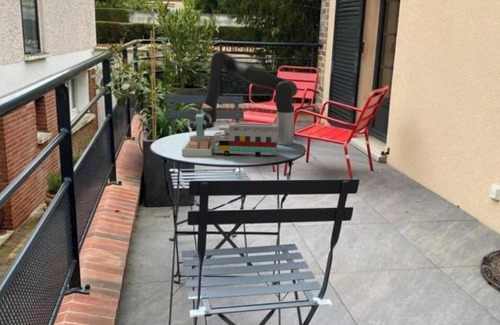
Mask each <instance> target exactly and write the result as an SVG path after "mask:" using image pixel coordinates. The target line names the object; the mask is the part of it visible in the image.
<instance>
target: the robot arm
mask: <svg viewBox="0 0 500 325" xmlns="http://www.w3.org/2000/svg"><path fill="white" fill-rule="evenodd" d="M210 60H211V61H210V68H209V69H210V70H209V80H208V85H207V86H208V87H207V89H206V94H205V98H204V105H207V106H209V107H211V110H210V109H207V108H201V109H199V110H198V113H197V114H204V124H203V126H202V127H203V130H204V131H206V130H207V129H208V130H209V129H212V128H215V127H216V126H215V123H216V121H217V119H218V117H217V116H218V114H217V113H218V112H217V111H218V110H217V105H218V102H219V97H220V91H221V88H220V87H221V85H220V84H221V83H220V82H221V81H220V79H221V74H222V71H223V72H226V73H229V74H234V75H235V76H237V77H239V79H240V80H241V79H242V80H243V81H245V82H247V83H249V84H251V85H254V86H257V87H262V88H266V89H270V90H273V91H275V95H274V97H275V99H274V100H275V107H276V123H275V124H278V126H277V145H281V144H282V146H283V145H284V146H288V145H289V146H290V145H294V137H295V136H294V135H295V134H294V133H295V127H294V123H295V122H294V121H295V106H294V105H293V98H294V97H295V96H296V95H297V94H298V87H297V84H296V83H295V82H293V81H292V80H290V79H289V80H288V79H286V78H282V77H279V76H276V75H274V74H273V73H270V72H268V71H267V70H263V69H262V68H260V67H257V66H255V65H252V64H249V63H245V62H241V61H238V60H237V59H235V58H234V57H232V56H230V55H229V54H227V53H226V52H223V51H222V50H221V51H220V50H218V51H215V52H214V53H213V54H212V55H211V59H210ZM188 127H189V128H190V129H194V130H195V131H196V120H195V121H191V120H188Z"/></svg>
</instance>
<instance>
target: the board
mask: <svg viewBox="0 0 500 325" xmlns="http://www.w3.org/2000/svg"><path fill="white" fill-rule="evenodd" d="M192 136H197V135H192ZM209 136H210V142H208V149H210V147H211V145H215V143H216V142H217V140H214V135H209ZM187 144H188V149H190V145H189V144H190V139H189V140H188V142H187ZM198 147H199V149H200V142H198Z"/></svg>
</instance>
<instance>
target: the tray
mask: <svg viewBox="0 0 500 325" xmlns="http://www.w3.org/2000/svg"><path fill="white" fill-rule="evenodd" d="M213 154H214V145H211V147H210V149H188V143H185V144H184V146H182V148H181V156H182V157H209V158H210V157H212V156H213Z"/></svg>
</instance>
